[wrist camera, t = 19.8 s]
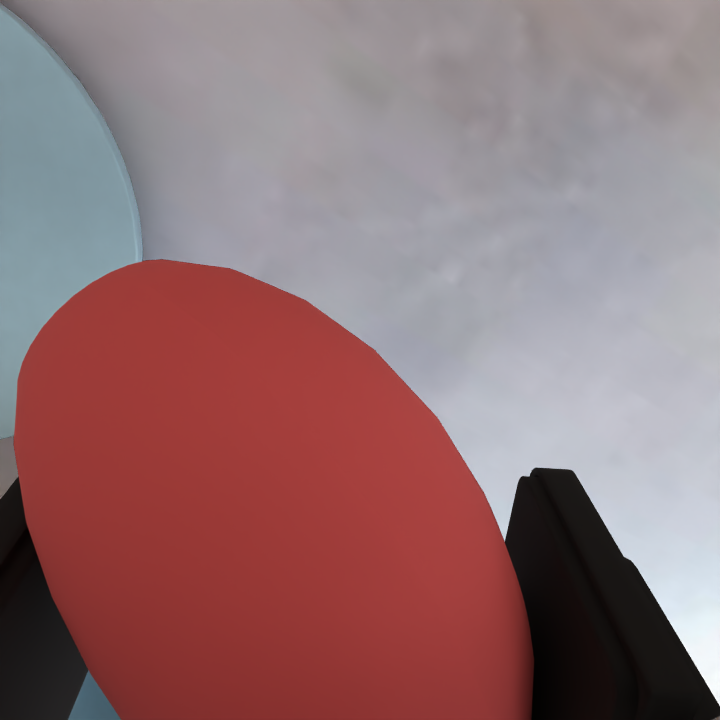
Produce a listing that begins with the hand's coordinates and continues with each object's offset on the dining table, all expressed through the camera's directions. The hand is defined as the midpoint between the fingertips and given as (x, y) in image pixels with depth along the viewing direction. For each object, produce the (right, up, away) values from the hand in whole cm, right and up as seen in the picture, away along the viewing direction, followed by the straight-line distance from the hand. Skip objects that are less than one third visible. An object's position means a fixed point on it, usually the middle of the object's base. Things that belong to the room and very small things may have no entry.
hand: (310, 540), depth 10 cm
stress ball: (0, +1, +1) cm, 1 cm away
